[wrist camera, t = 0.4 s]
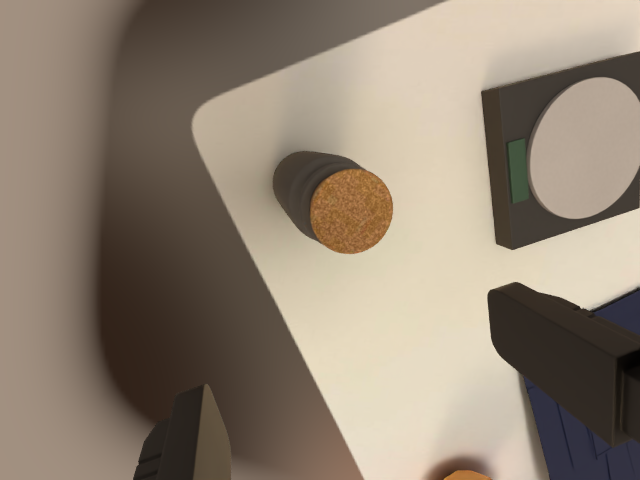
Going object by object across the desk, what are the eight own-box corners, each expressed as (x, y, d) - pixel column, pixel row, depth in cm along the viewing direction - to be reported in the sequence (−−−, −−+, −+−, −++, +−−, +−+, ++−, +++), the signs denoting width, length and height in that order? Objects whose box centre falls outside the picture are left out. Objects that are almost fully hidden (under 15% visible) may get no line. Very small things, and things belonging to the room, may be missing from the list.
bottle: (309, 137, 33) (365, 134, 19) (346, 188, 35) (421, 220, 21) (258, 177, 33) (276, 205, 19) (298, 226, 35) (341, 284, 21)
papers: (548, 519, 53) (569, 543, 49) (499, 334, 47) (519, 347, 43) (686, 447, 55) (715, 465, 52) (656, 265, 50) (688, 271, 46)
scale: (481, 91, 36) (503, 86, 33) (618, 56, 38) (650, 48, 35) (496, 244, 40) (516, 251, 38) (617, 204, 43) (645, 209, 40)
